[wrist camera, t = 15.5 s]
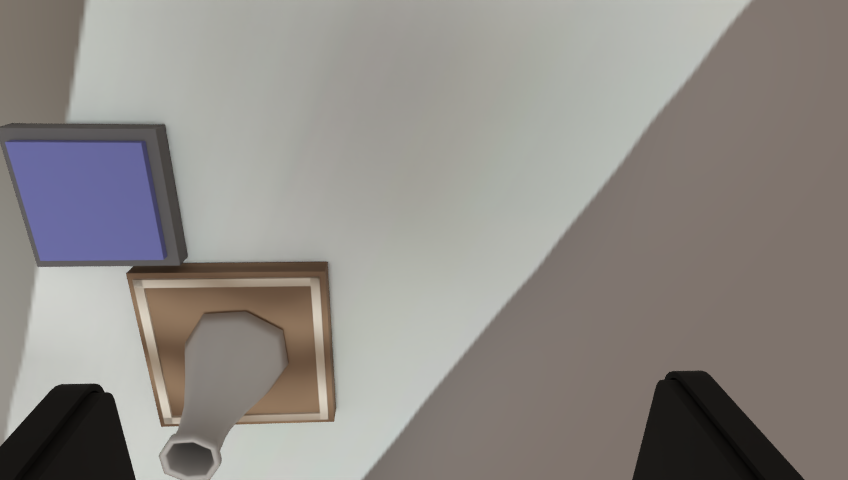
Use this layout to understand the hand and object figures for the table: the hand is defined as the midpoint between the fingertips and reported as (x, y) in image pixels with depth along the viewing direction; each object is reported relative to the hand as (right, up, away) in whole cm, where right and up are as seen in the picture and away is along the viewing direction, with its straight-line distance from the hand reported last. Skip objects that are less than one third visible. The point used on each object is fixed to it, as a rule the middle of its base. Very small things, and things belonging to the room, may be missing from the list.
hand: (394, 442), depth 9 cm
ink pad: (-20, +7, +24) cm, 32 cm away
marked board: (-13, -4, +29) cm, 32 cm away
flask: (-13, -4, +28) cm, 31 cm away
